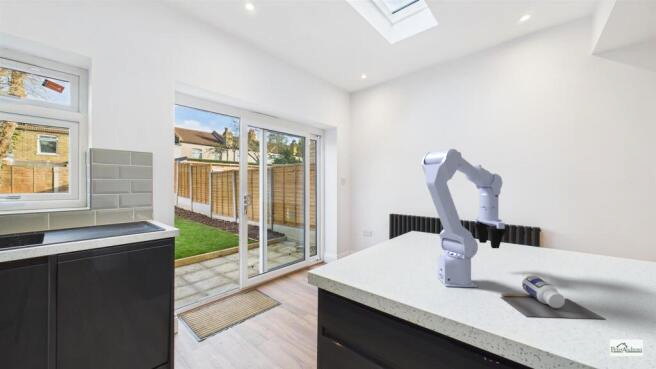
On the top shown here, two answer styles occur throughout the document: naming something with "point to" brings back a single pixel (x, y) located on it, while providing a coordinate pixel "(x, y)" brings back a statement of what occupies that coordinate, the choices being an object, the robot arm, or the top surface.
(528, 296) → the dark grey mat
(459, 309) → the top surface
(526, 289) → the pill bottle
